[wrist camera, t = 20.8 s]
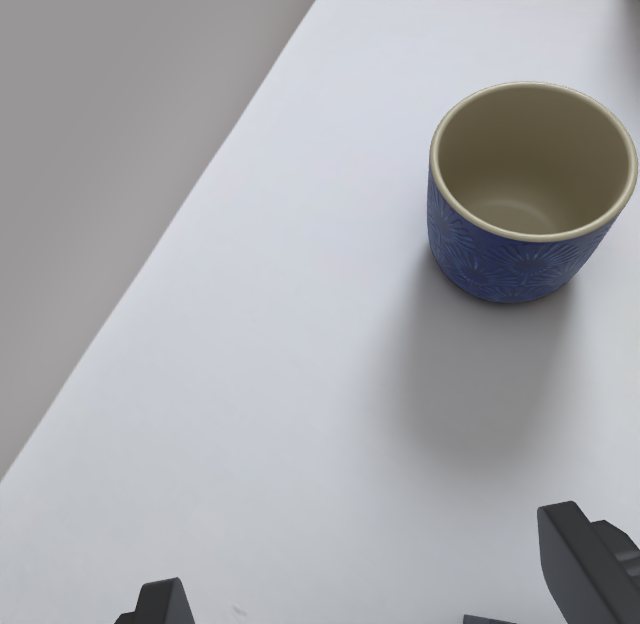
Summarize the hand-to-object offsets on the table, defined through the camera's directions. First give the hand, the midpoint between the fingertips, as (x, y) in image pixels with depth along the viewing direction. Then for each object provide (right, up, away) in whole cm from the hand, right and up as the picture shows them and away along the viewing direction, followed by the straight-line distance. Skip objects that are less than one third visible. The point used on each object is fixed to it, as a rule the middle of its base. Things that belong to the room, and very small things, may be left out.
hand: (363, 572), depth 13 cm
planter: (+13, +11, +34) cm, 38 cm away
